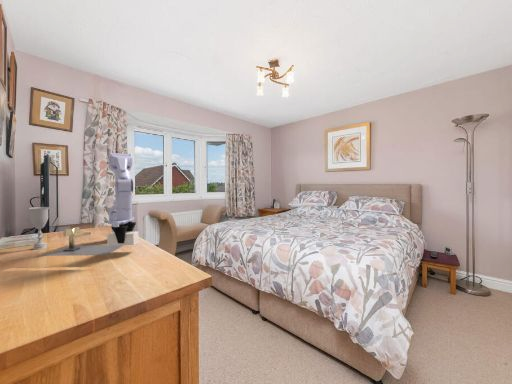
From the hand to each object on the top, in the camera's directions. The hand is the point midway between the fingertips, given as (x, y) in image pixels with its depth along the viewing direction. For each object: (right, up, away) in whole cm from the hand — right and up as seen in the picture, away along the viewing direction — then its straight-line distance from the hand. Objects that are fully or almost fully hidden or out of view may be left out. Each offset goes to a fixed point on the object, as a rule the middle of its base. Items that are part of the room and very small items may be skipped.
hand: (124, 241), depth 94 cm
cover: (0, -1, 0) cm, 1 cm away
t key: (-23, -3, +5) cm, 24 cm away
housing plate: (-17, -5, +3) cm, 18 cm away
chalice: (-42, -5, +7) cm, 43 cm away
